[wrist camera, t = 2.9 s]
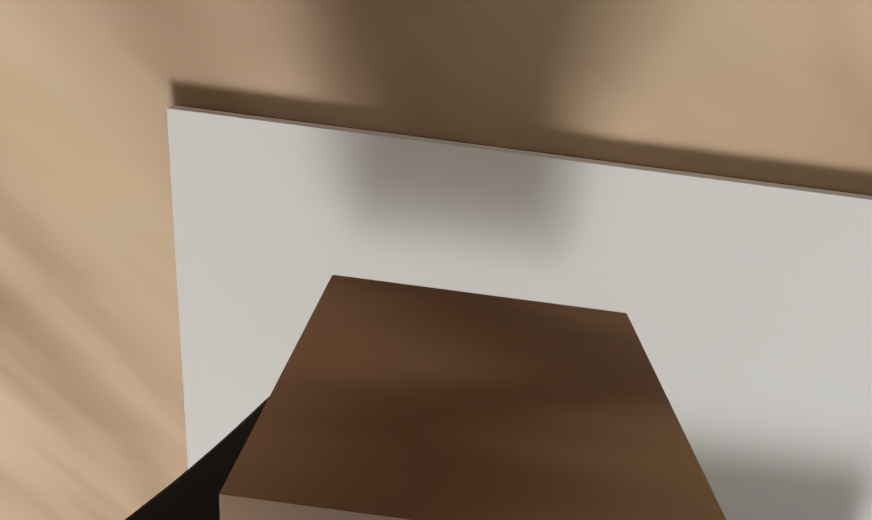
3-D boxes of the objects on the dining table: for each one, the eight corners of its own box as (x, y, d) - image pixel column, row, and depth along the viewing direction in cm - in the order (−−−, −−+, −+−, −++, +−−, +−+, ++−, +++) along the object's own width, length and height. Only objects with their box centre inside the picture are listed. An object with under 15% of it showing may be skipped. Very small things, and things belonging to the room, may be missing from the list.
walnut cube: (626, 312, 10) (747, 564, 6) (567, 531, 12) (622, 848, 8) (332, 274, 10) (218, 494, 6) (320, 498, 12) (228, 795, 8)
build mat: (1239, 243, 14) (1266, 252, 13) (876, 762, 22) (884, 778, 21) (174, 105, 14) (164, 109, 13) (205, 672, 22) (199, 687, 21)
